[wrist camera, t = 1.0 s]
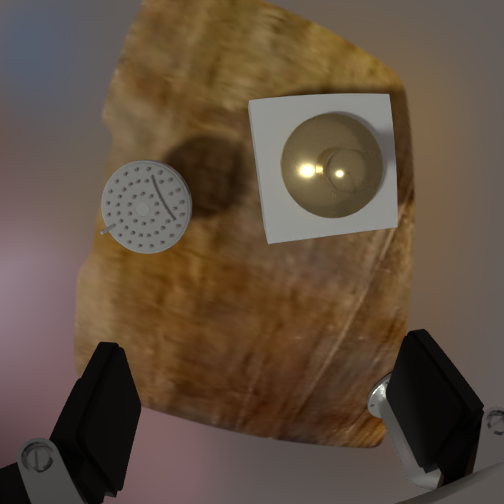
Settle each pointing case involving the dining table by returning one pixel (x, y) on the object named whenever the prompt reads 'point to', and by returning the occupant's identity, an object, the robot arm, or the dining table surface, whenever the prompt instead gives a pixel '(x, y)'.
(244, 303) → the dining table surface
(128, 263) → the dining table surface
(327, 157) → the end cover
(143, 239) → the showerhead
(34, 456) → the robot arm
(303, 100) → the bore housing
